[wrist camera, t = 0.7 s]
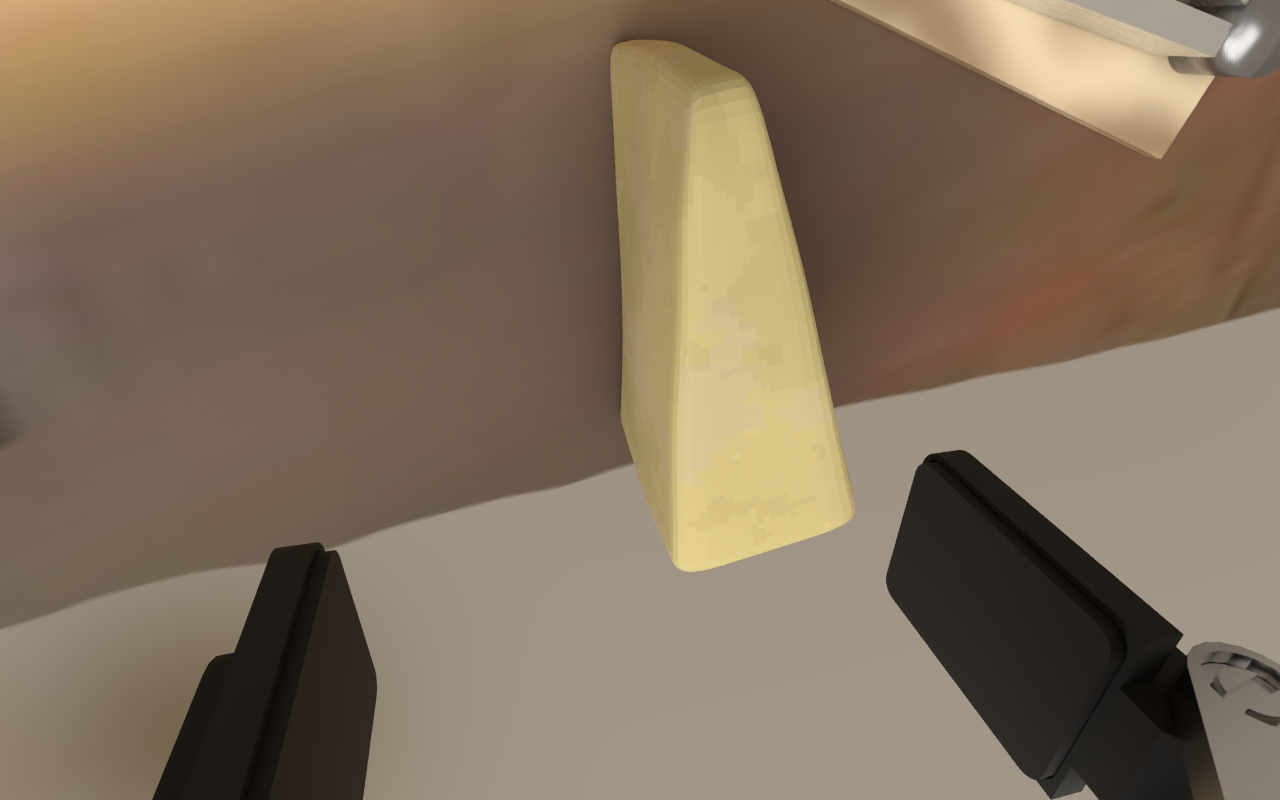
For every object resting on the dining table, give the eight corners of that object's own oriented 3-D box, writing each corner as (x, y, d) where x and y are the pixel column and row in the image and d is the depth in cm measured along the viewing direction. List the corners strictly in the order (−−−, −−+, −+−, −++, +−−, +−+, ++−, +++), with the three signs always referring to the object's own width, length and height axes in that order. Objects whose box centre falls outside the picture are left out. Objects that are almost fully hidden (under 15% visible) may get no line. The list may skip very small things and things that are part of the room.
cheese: (527, 62, 31) (569, 83, 19) (715, 20, 32) (876, 13, 20) (616, 426, 43) (679, 591, 30) (752, 387, 44) (867, 531, 31)
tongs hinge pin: (1204, -26, 36) (1280, -31, 32) (1249, 5, 37) (1327, 3, 34) (1153, 58, 38) (1221, 61, 34) (1198, 84, 39) (1267, 89, 36)
